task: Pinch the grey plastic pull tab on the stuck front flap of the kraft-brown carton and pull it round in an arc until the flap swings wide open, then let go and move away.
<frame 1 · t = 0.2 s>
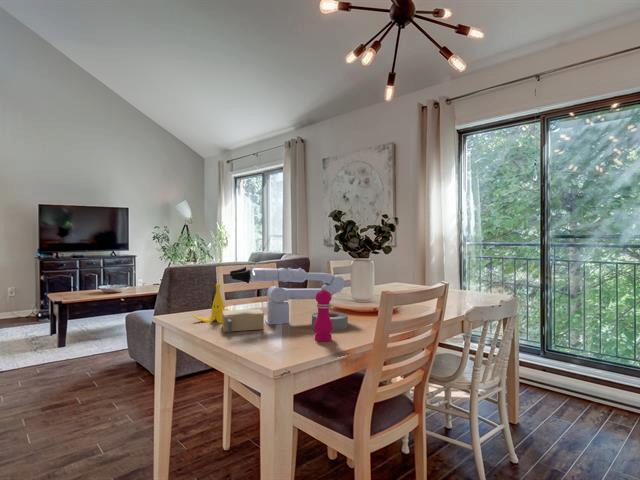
hand: (231, 275, 167), 22 cm above the table, tool horizontal, fingers open, 7 cm apart
tape roll: (329, 327, 167), on the table
front flap: (244, 324, 155), point 3 cm above the table, hinge at 0.0°
carton: (242, 327, 163), on the table
banana peel: (219, 320, 178), on the table
pepper mill: (323, 340, 146), on the table
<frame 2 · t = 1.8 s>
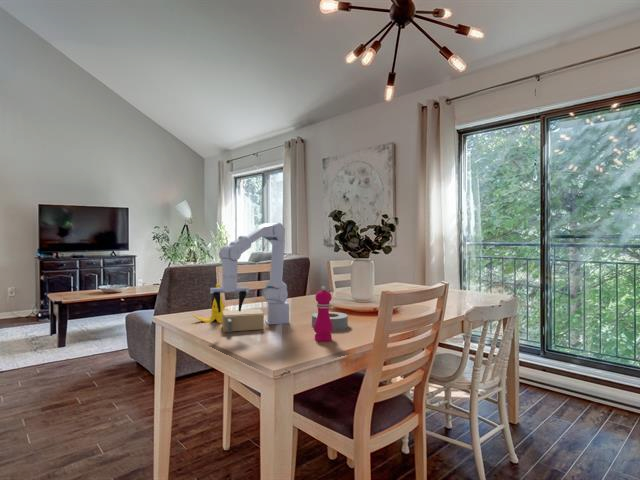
hand: (229, 311, 151), 9 cm above the table, tool pointing down, fingers open, 7 cm apart
nothing on the table moved.
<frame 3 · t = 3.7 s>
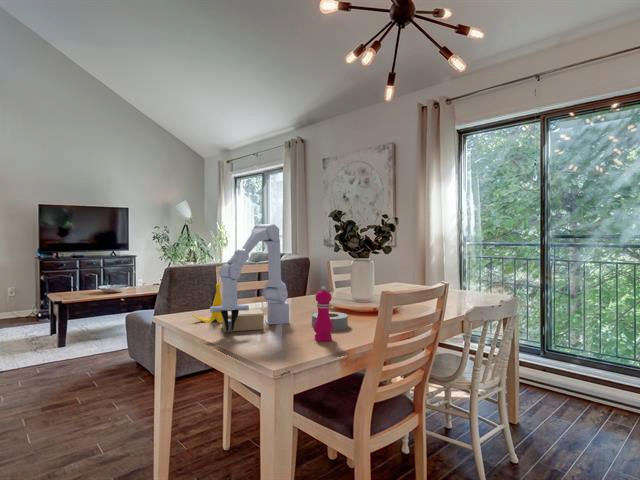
hand: (229, 329, 152), 2 cm above the table, tool pointing down, fingers closed on front flap
front flap: (244, 324, 155), point 3 cm above the table, hinge at 0.0°, touching gripper
everything else where it was.
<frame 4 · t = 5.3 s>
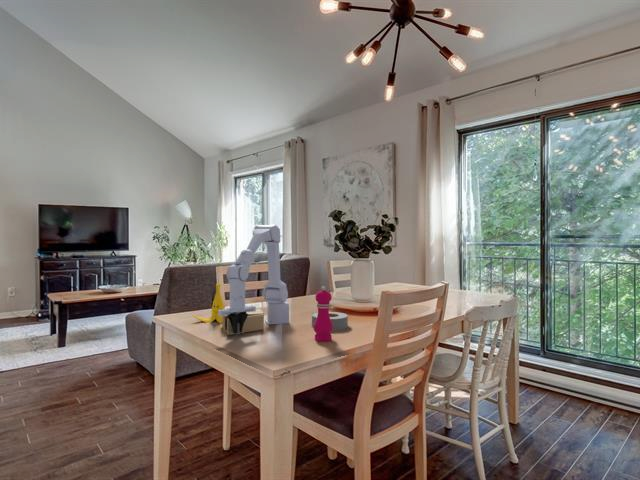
hand: (237, 332, 148), 2 cm above the table, tool pointing down, fingers closed on front flap
front flap: (249, 325, 153), point 3 cm above the table, hinge at 19.4°, touching gripper
everything else where it was.
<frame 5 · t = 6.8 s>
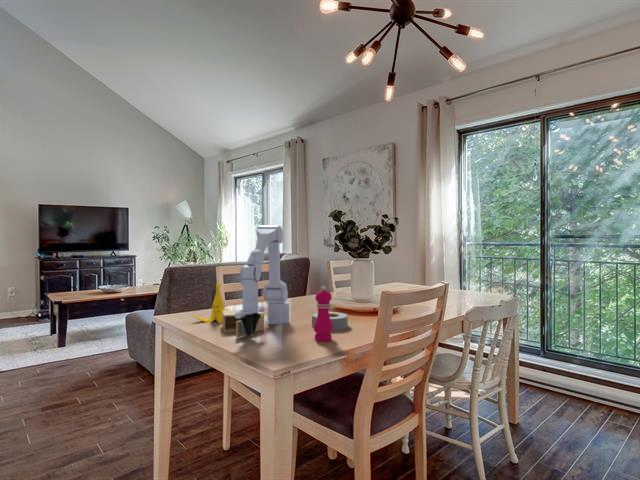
hand: (250, 334, 145), 2 cm above the table, tool pointing down, fingers closed on front flap
front flap: (256, 326, 152), point 3 cm above the table, hinge at 41.4°, touching gripper
everything else where it was.
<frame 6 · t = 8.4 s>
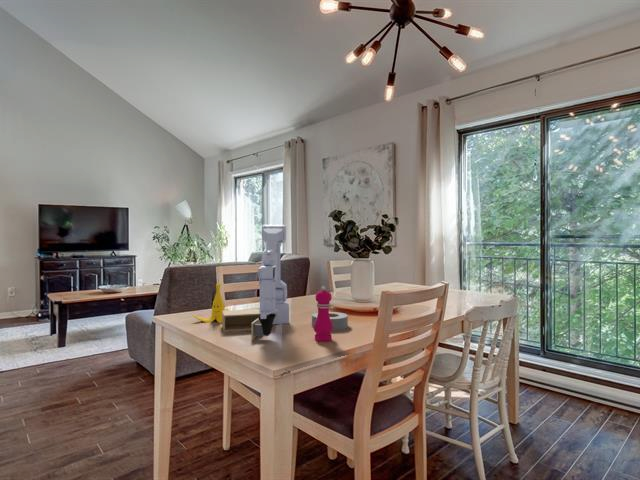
hand: (267, 334, 145), 2 cm above the table, tool pointing down, fingers closed, pressing on front flap
front flap: (265, 326, 152), point 3 cm above the table, hinge at 65.3°, touching gripper
everything else where it was.
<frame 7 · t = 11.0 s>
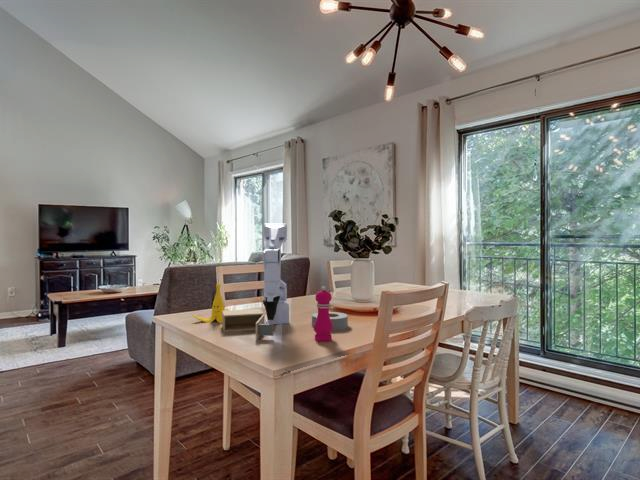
hand: (271, 317, 146), 8 cm above the table, tool pointing down, fingers open, 7 cm apart
front flap: (267, 326, 152), point 3 cm above the table, hinge at 71.1°
everything else where it was.
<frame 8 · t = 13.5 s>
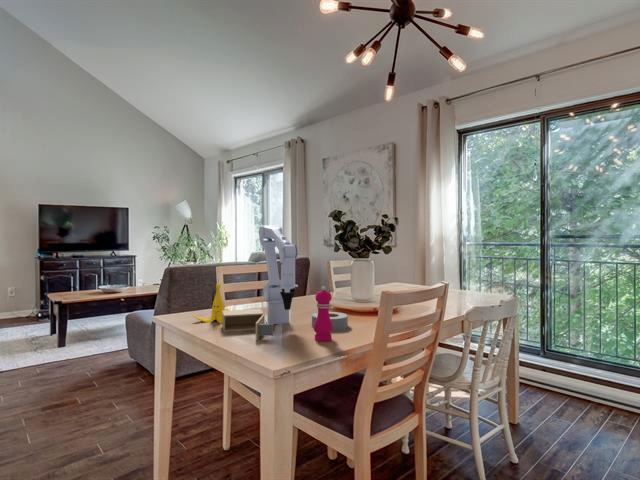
hand: (287, 307, 158), 9 cm above the table, tool pointing down, fingers open, 7 cm apart
nothing on the table moved.
at the end: front flap at +71° (first picture: +0°); the gripper is holding nothing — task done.
